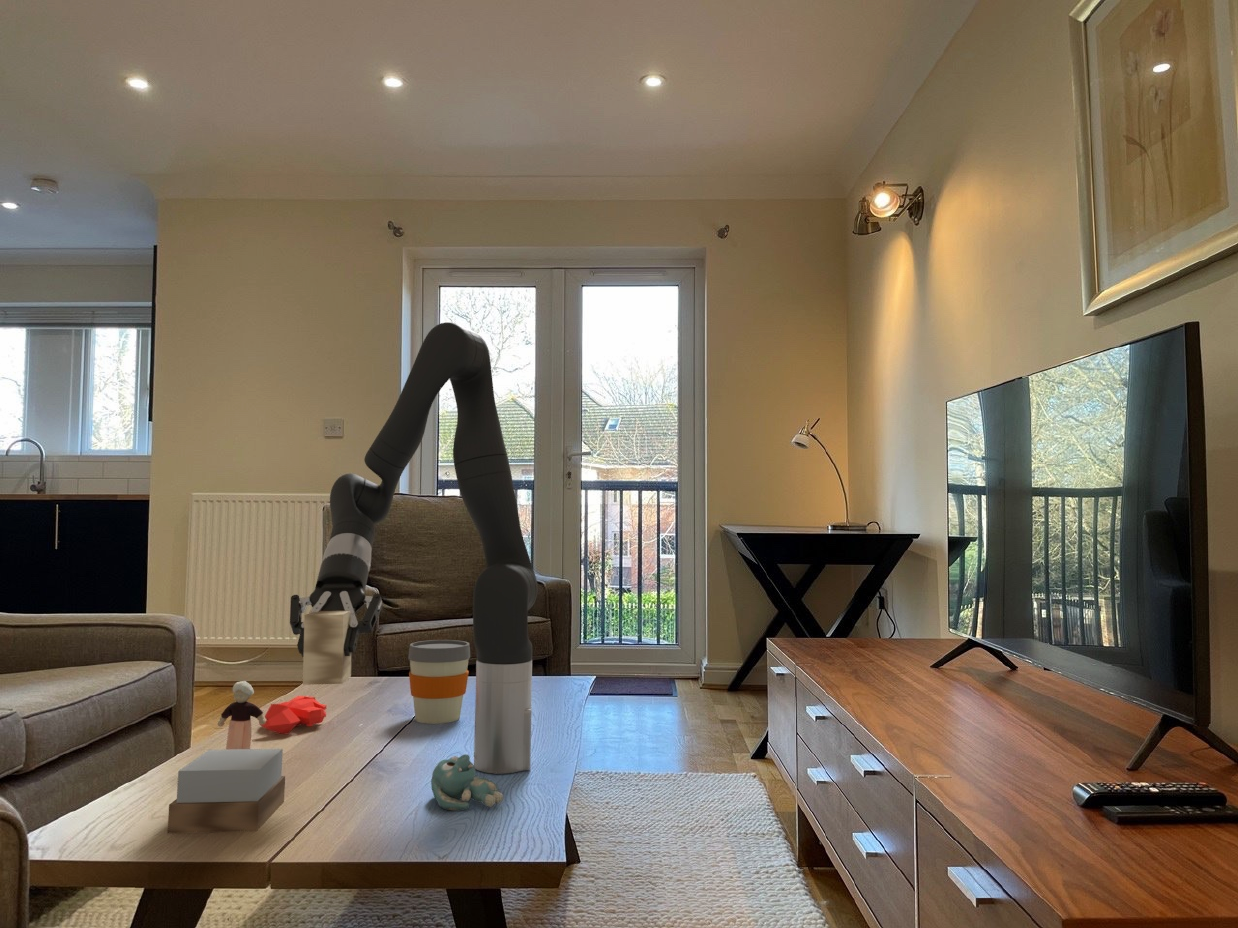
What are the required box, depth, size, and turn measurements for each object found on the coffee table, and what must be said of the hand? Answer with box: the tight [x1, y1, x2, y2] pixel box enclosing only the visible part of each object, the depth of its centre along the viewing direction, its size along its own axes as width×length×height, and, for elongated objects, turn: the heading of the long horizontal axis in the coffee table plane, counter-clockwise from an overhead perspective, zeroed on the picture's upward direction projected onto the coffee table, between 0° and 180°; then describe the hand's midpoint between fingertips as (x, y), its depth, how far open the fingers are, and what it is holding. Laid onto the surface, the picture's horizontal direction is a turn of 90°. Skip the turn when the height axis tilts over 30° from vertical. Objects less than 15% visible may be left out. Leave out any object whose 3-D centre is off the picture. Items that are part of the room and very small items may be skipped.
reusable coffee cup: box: [407, 639, 471, 725], centre depth 164 cm, size 13×13×15 cm
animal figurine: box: [260, 695, 327, 735], centre depth 155 cm, size 12×15×5 cm
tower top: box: [176, 748, 284, 803], centre depth 108 cm, size 10×10×4 cm
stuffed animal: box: [430, 754, 504, 812], centre depth 115 cm, size 11×7×12 cm
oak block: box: [302, 611, 352, 686], centre depth 120 cm, size 6×6×10 cm
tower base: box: [167, 775, 286, 834], centre depth 108 cm, size 11×11×4 cm
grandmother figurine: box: [217, 680, 266, 749], centre depth 135 cm, size 8×4×13 cm, turn 105°
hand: (325, 652), depth 118 cm, fingers closed on oak block, 5 cm apart
